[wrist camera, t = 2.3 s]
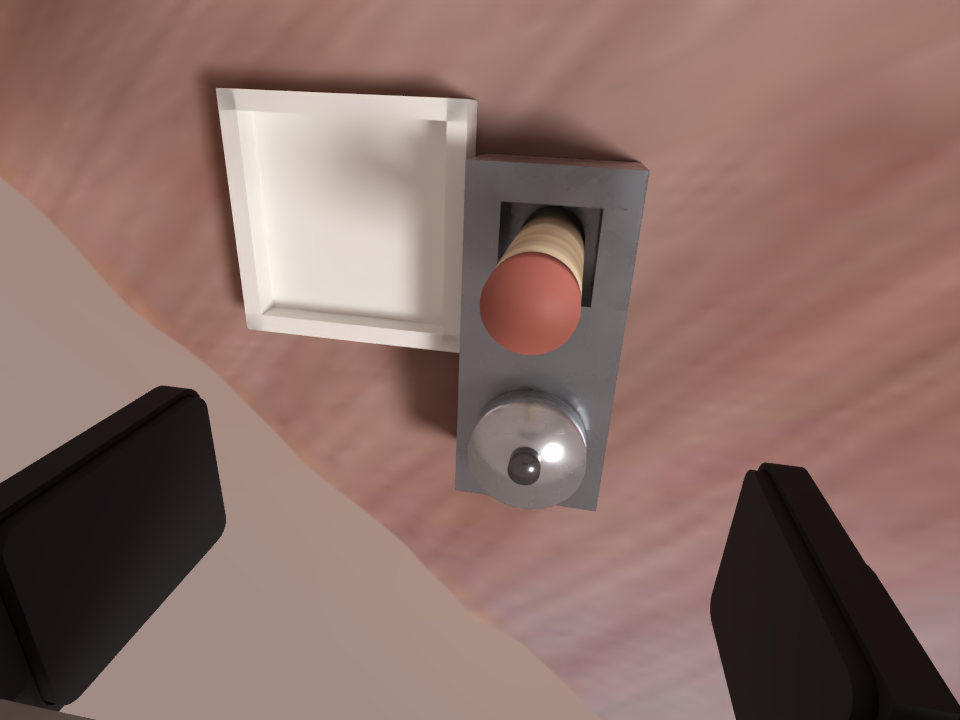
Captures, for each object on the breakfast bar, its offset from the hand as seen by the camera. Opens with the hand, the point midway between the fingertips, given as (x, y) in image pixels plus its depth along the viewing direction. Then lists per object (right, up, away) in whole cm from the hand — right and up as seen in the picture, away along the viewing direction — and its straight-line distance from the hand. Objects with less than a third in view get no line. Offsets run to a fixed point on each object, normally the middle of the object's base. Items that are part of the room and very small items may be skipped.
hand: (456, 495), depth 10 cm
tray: (-6, +10, +22) cm, 26 cm away
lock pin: (+4, +9, +20) cm, 22 cm away
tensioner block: (+4, +5, +23) cm, 24 cm away
